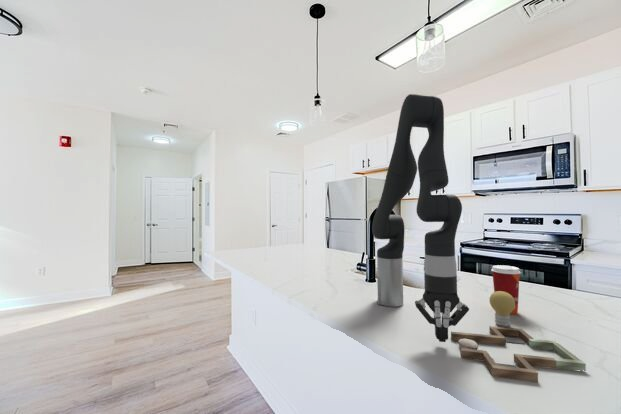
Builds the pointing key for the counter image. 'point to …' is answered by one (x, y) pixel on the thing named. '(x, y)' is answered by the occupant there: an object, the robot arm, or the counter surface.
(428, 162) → the robot arm
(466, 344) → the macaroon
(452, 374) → the counter surface
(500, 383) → the counter surface
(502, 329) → the brown green zigzag frame
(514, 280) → the coffee cup
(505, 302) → the light bulb
